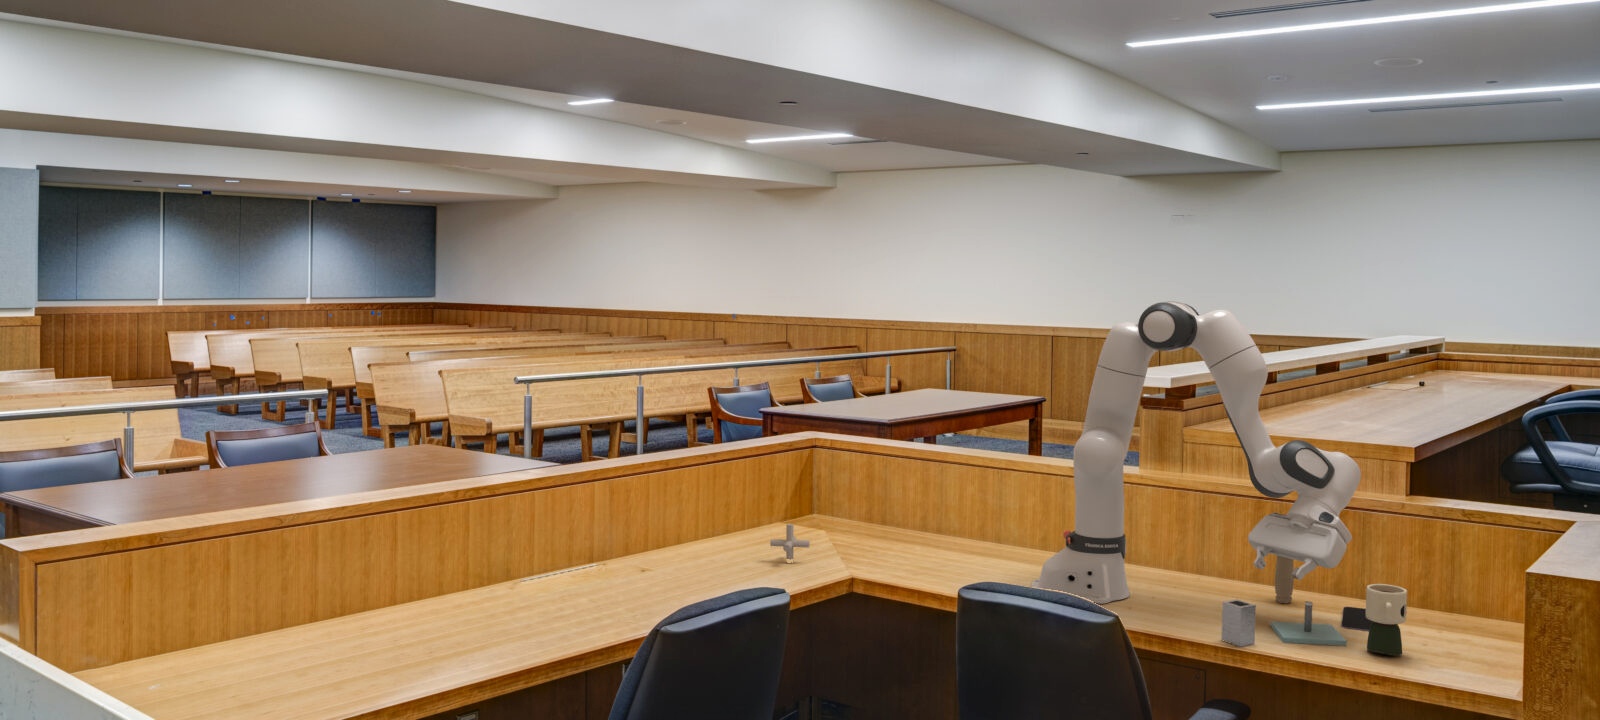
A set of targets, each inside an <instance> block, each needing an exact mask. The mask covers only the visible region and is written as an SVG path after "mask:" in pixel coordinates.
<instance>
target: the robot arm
mask: <svg viewBox="0 0 1600 720" xmlns="http://www.w3.org/2000/svg"><path fill="white" fill-rule="evenodd" d="M1186 348H1191V349H1193V350H1195V351H1196V352H1197V353H1198V354H1199V355H1200V357H1201V358H1202V361H1204V363H1205V365H1206V367H1207V368H1208V371H1209V372H1210V374H1211V376H1212V378H1213V379H1214V382H1215V384H1216V387H1217V388H1218V391H1219V394H1220V396H1221V401H1222V404H1223V407H1224V410H1225V413H1226V416H1227V417H1228V420H1229V423H1230V424H1231V427H1232V429H1233V431H1234V433H1235V435H1236V437H1237V438H1236V439H1237V440H1238V442H1239V445H1240V447H1241V449H1242V451H1243V453H1244V455H1245V459H1246V462H1247V467H1248V475H1249V478H1250V479H1249V480H1250V481H1251V484H1252V485H1253V487H1254V488H1255V490H1256V491H1258V492H1259V493H1260V494H1262V495H1263V496H1265V497H1268V498H1271V499H1273V498H1274V499H1280V498H1285V497H1286V496H1287V495H1290V494H1291V493H1293V492H1296V493H1297V498H1296V499H1295V501H1294V503H1293V504H1292V506H1291V507H1290V509H1289V510H1288V512H1287V513H1286V514H1281V513H1279V512H1272V513H1270V514H1265V516H1263V518H1261V519H1260V520H1259V522H1258V523H1257V524H1255V526H1254V527H1253V528H1252V530H1250V532H1249V533H1248V535H1247V541H1248V543H1249V544H1250V545H1251V547H1252V549H1254V550H1255V551H1256V558H1255V560H1254V561H1253V566H1254V567H1255V568H1256V569H1259V570H1264V569H1265V567H1266V565H1268V564H1267V561H1265V557H1268V555H1269V554H1271V555H1275V556H1277V555H1278V556H1282V557H1286V558H1290V559H1293V561H1298V562H1303V564H1302V565H1301V566H1299V567H1296V566H1295V567H1294V571H1293V572H1292V576H1293V577H1294V579H1296V580H1300V581H1302V580H1303V578H1305V576H1306V575H1307V574H1309V573H1310V572H1313V571H1314V570H1315V569H1316V567H1322V568H1326V569H1333V568H1335V567H1337V566H1338V565H1339V564H1340V562H1341V560H1342V559H1343V557H1344V555H1345V553H1346V551H1347V548H1348V546H1347V544H1349V543H1350V542H1351V541H1352V539H1353V536H1352V534H1351V532H1350V530H1349V529H1348V528H1347V526H1346V525H1345V523H1344V522H1343V521H1342V520H1341V518H1340V514H1341V512H1342V511H1343V509H1345V508H1346V507H1347V506H1348V504H1349V503H1350V501H1351V500H1352V498H1353V496H1354V495H1355V493H1356V491H1357V489H1358V487H1359V485H1360V481H1361V478H1362V477H1361V476H1362V475H1361V474H1362V473H1361V469H1360V467H1359V465H1358V463H1357V462H1356V461H1355V459H1353V458H1352V457H1350V456H1349V455H1348V454H1346V453H1343V452H1342V451H1341V452H1340V451H1328V450H1324V449H1320V448H1318V447H1316V446H1314V445H1313V444H1312V443H1310V442H1308V441H1305V440H1302V439H1294V440H1291V441H1287V442H1286V443H1284V444H1282V445H1279V446H1277V447H1276V446H1275V444H1274V443H1273V441H1272V440H1271V437H1270V435H1269V433H1268V431H1267V429H1266V426H1265V424H1264V423H1263V420H1262V417H1261V415H1260V412H1259V411H1260V410H1259V402H1260V397H1261V394H1262V392H1263V390H1264V388H1265V385H1266V383H1267V379H1268V376H1269V371H1268V367H1267V364H1266V361H1265V359H1264V357H1263V355H1262V353H1261V351H1260V350H1259V347H1258V346H1257V344H1256V342H1255V341H1254V340H1253V337H1252V336H1251V335H1250V333H1249V332H1248V331H1247V329H1246V328H1245V327H1244V325H1243V324H1242V323H1241V322H1240V321H1239V320H1238V318H1237V317H1236V316H1235V315H1234V314H1233V313H1232V312H1231V311H1229V310H1227V309H1215V310H1211V311H1208V312H1207V313H1204V314H1202V315H1200V314H1199V312H1198V311H1197V309H1195V308H1194V307H1193V306H1191V305H1189V304H1187V303H1183V302H1180V301H1164V302H1161V301H1160V302H1157V303H1153V304H1151V305H1149V306H1148V307H1146V309H1145V310H1144V311H1143V312H1142V313H1141V315H1140V317H1139V318H1138V322H1136V323H1135V322H1131V321H1123V322H1118V323H1116V324H1115V325H1113V326H1112V327H1111V328H1110V330H1109V332H1108V334H1107V336H1106V338H1105V340H1104V343H1103V345H1102V348H1101V351H1100V354H1099V356H1098V361H1097V364H1096V368H1095V371H1094V372H1095V373H1094V375H1093V381H1092V384H1091V389H1090V393H1089V396H1088V403H1087V409H1086V413H1085V419H1084V425H1083V429H1082V432H1081V435H1080V437H1079V438H1078V439H1077V441H1076V442H1075V445H1074V448H1073V455H1072V457H1073V481H1074V482H1073V483H1074V495H1075V503H1074V507H1075V509H1074V512H1075V513H1074V514H1075V515H1074V530H1073V531H1071V530H1070V529H1065V530H1064V531H1063V534H1062V535H1063V538H1064V539H1065V547H1064V548H1062V549H1061V550H1060V551H1058V552H1056V553H1055V554H1054V555H1052V556H1051V557H1049V558H1047V559H1046V561H1044V563H1043V565H1042V568H1041V572H1040V576H1039V578H1037V579H1034V580H1033V581H1032V582H1031V583H1030V588H1031V587H1036V588H1043V589H1051V590H1058V591H1063V592H1067V593H1071V594H1074V595H1078V596H1080V597H1084V598H1086V599H1089V600H1091V601H1093V602H1095V603H1094V604H1102V605H1104V604H1108V603H1110V602H1113V601H1119V600H1124V599H1127V598H1129V596H1130V595H1131V594H1130V591H1129V587H1128V582H1127V576H1126V569H1125V568H1126V567H1125V559H1126V554H1127V538H1126V533H1125V490H1124V489H1125V486H1124V485H1125V484H1124V463H1125V459H1126V458H1127V455H1128V451H1129V447H1130V444H1131V439H1132V435H1133V431H1134V425H1135V420H1136V417H1137V413H1138V412H1137V411H1138V408H1139V403H1140V400H1141V396H1142V393H1143V388H1144V384H1145V380H1146V376H1147V372H1148V369H1149V364H1150V361H1151V358H1152V357H1153V355H1154V354H1155V353H1157V352H1159V351H1161V352H1176V351H1180V350H1183V349H1186Z"/></svg>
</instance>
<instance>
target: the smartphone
mask: <svg viewBox="0 0 1600 720" xmlns="http://www.w3.org/2000/svg"><path fill="white" fill-rule="evenodd" d="M1341 614H1342V616H1341V624H1340V626H1341V628H1342V627H1343V629H1346V628H1347V630H1353V629H1354V630H1355V631H1363V632H1369V630H1370V625H1371V623H1372V622H1374V621H1371V620H1369V619H1367V618H1366V608H1361V607H1354V606H1353V607H1352V606H1344V607H1343V608H1342V613H1341Z"/></svg>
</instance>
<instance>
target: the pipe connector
mask: <svg viewBox="0 0 1600 720" xmlns="http://www.w3.org/2000/svg"><path fill="white" fill-rule="evenodd" d="M794 526H795V525H794V523H786V531H785V533H786V536H785V537H786V539H779V538H777V539H775V538H770V539H769V540H770V542H769V544H770V547H783V548H782V549H783V551H784V552H786V554H785V555H786V556H785V557H786V559H790V560H791V559H793V560H794V548H808V549H809V548H810V543H811V542H810V540H801V539H797V537H796V535H794V529H795V528H794Z"/></svg>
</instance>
